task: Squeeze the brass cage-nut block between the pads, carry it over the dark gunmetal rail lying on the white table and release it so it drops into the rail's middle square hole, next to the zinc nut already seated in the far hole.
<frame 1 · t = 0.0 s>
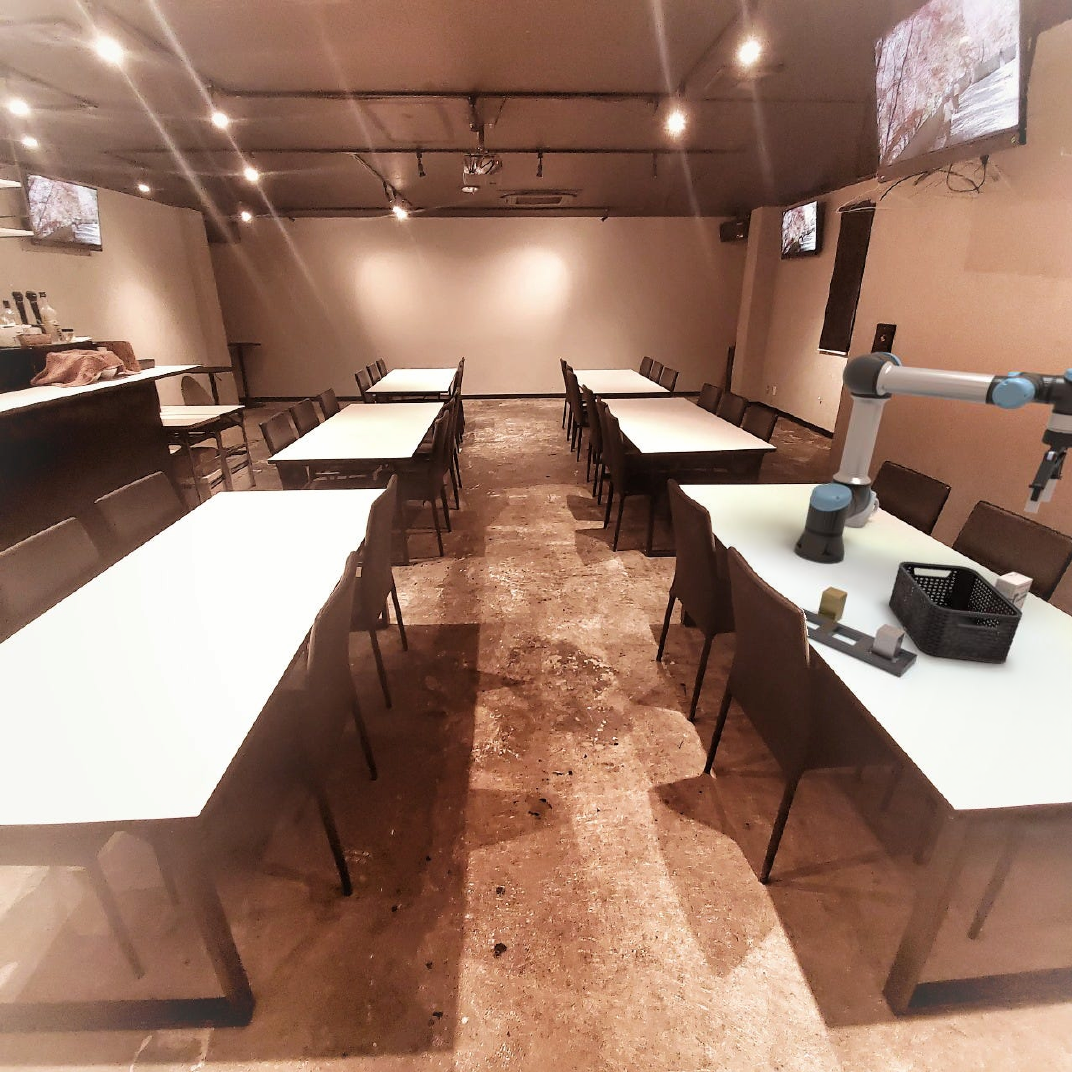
hand: (1036, 506, 162), 28 cm above the table, fingers open, 13 cm apart
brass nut: (829, 618, 161), on the table
zinc nut: (883, 659, 143), resting in rail
rail: (844, 642, 150), on the table
ink box: (1001, 616, 162), on the table
storage bin: (941, 631, 156), on the table
mug: (854, 524, 225), on the table
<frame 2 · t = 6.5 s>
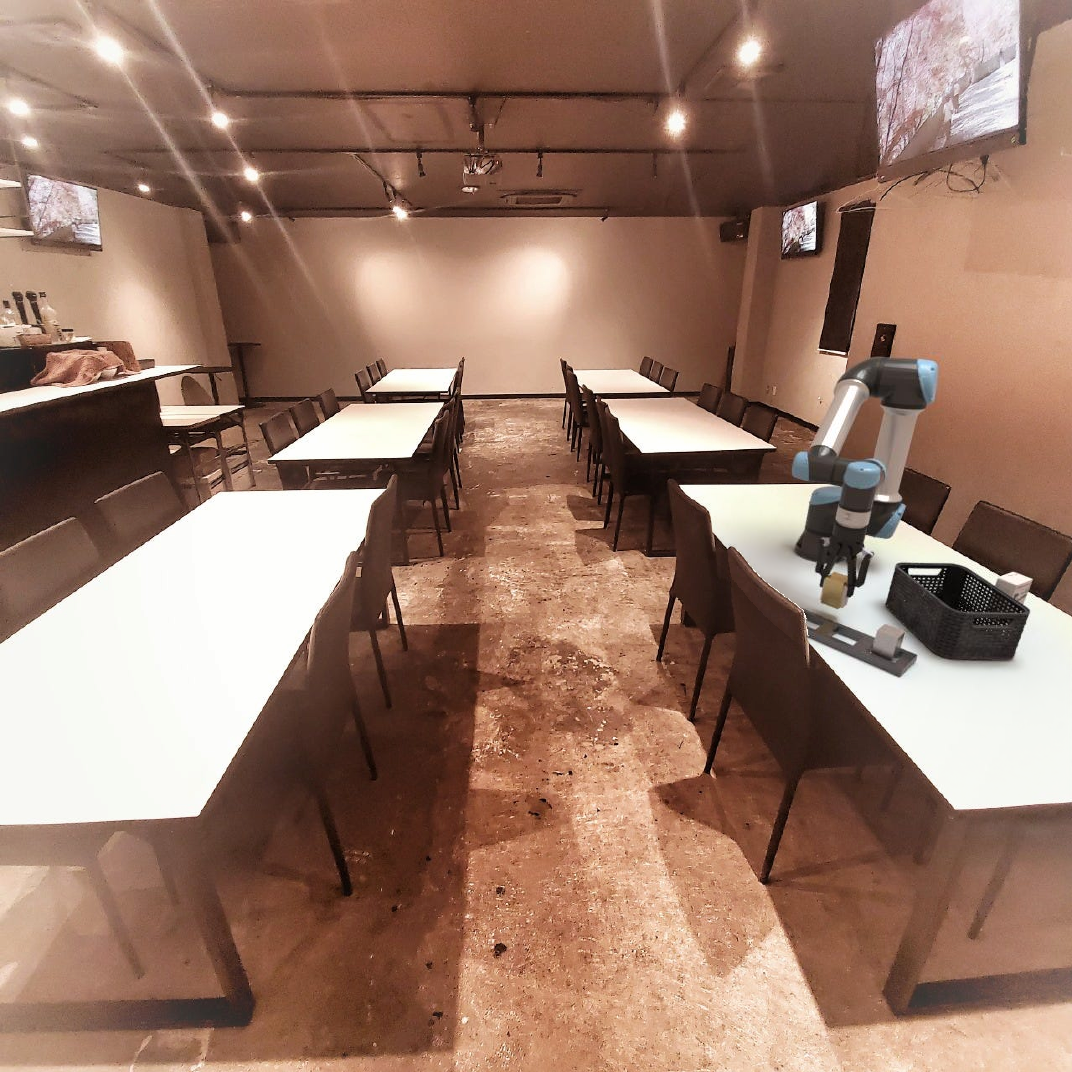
hand: (833, 601, 159), 5 cm above the table, fingers closed on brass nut, 5 cm apart
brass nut: (833, 603, 160), point 4 cm above the table, touching gripper
when the fingers open (2 cm above the table, at t = 10.4 s): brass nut drops 2 cm, resting in rail.
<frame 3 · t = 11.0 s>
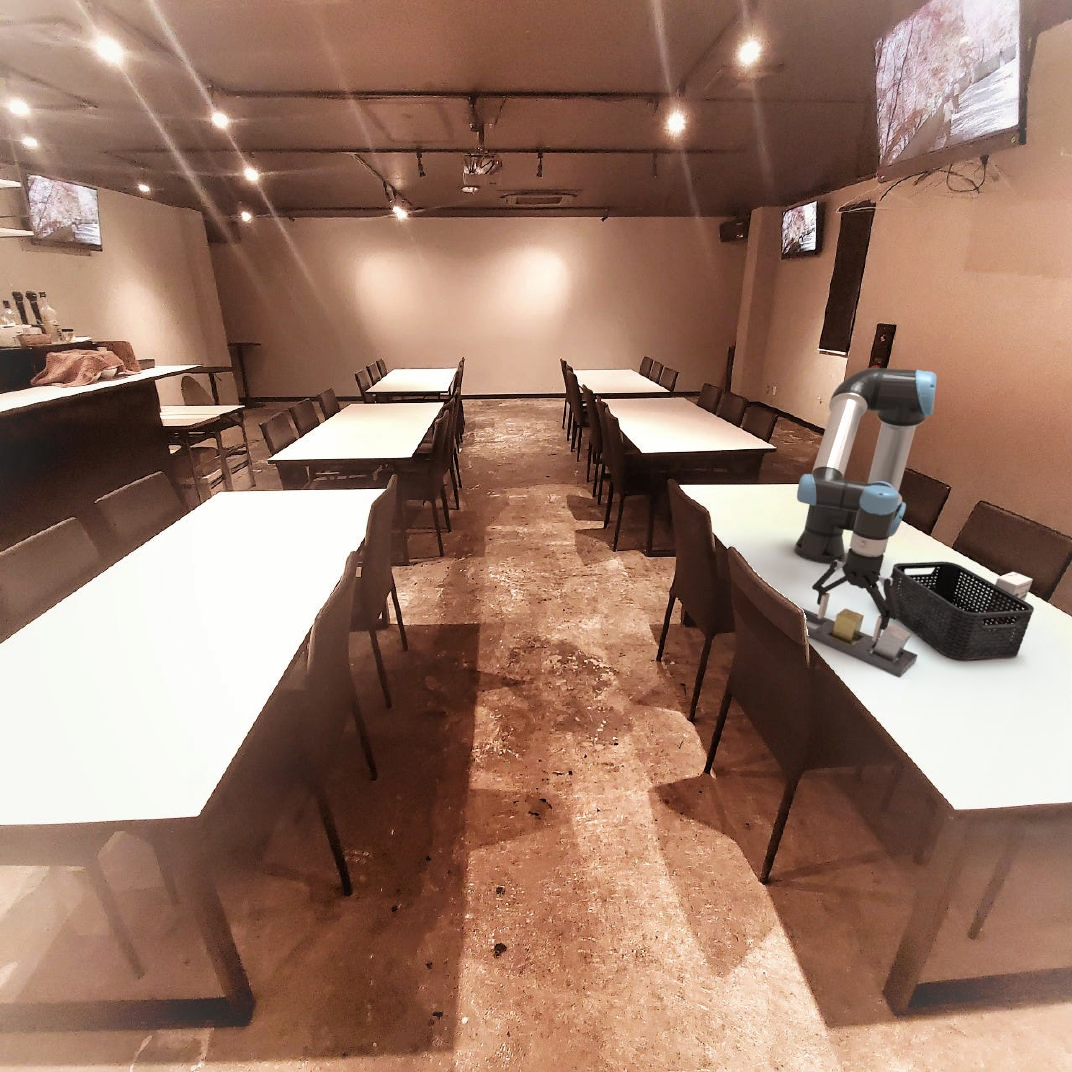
hand: (847, 627, 148), 4 cm above the table, fingers open, 13 cm apart
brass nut: (843, 642, 150), resting in rail
zinc nut: (883, 657, 143), resting in rail, tilted 9°, touching gripper
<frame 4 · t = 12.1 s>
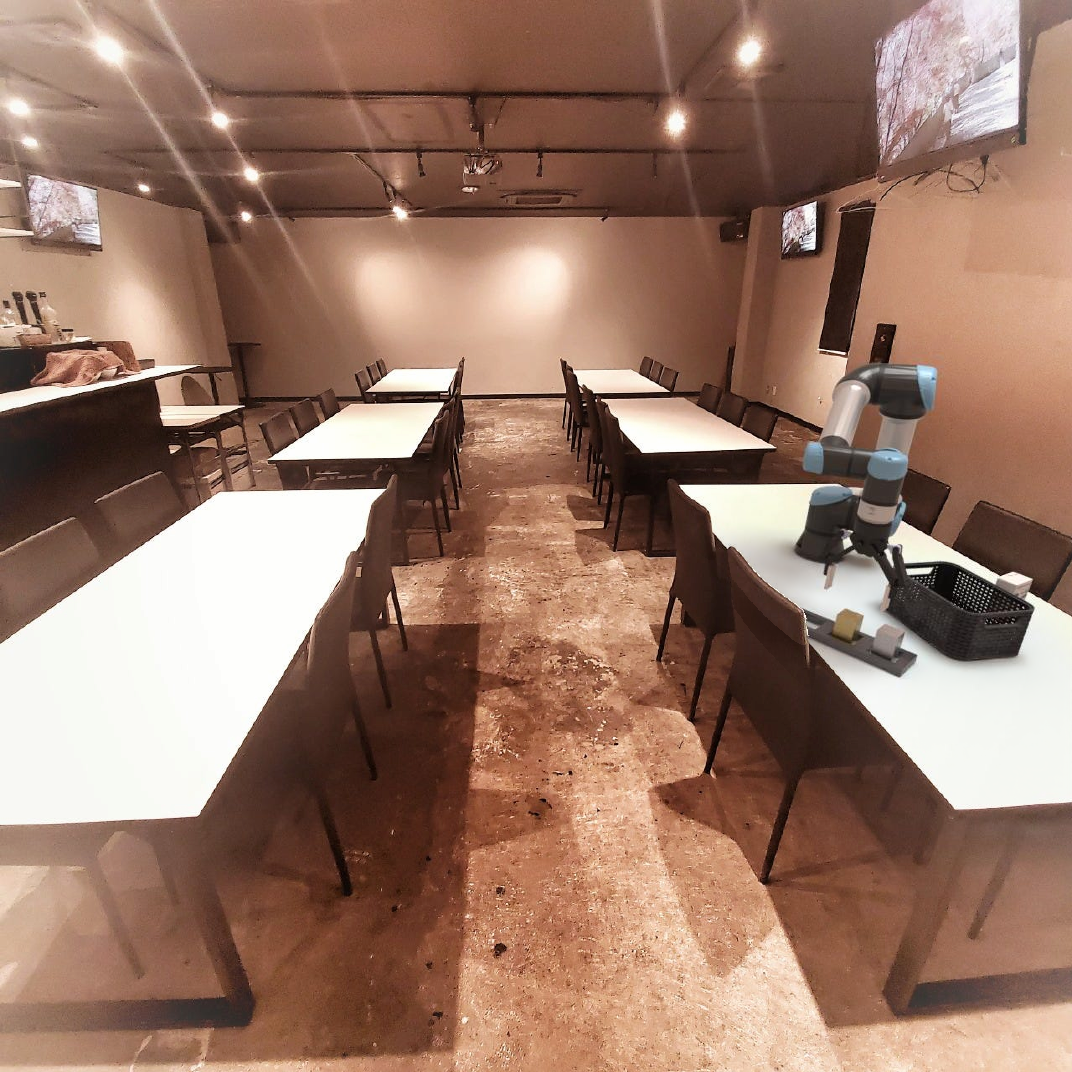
hand: (854, 598, 145), 13 cm above the table, fingers open, 13 cm apart
zinc nut: (883, 658, 143), resting in rail
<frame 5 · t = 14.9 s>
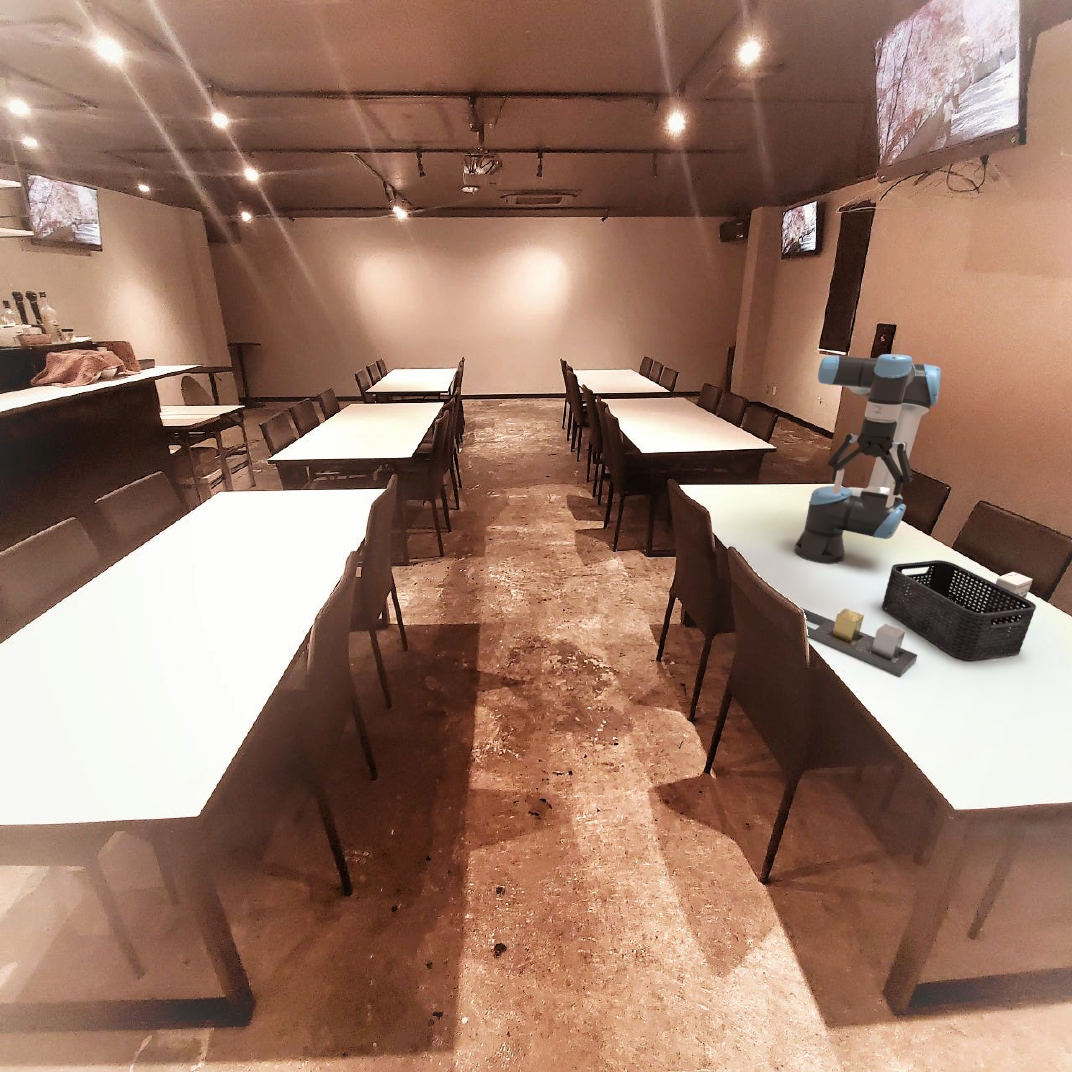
hand: (861, 499, 155), 32 cm above the table, fingers open, 13 cm apart
at the end: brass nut 0.1 cm off-centre on the rail, point 0.0 cm above the rail's base; the gripper is holding nothing; zinc nut moved 0.1 cm from its start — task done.
